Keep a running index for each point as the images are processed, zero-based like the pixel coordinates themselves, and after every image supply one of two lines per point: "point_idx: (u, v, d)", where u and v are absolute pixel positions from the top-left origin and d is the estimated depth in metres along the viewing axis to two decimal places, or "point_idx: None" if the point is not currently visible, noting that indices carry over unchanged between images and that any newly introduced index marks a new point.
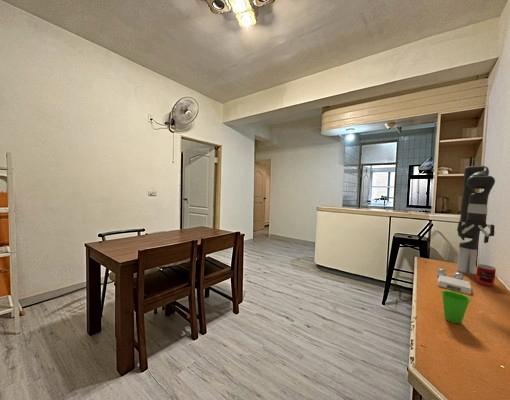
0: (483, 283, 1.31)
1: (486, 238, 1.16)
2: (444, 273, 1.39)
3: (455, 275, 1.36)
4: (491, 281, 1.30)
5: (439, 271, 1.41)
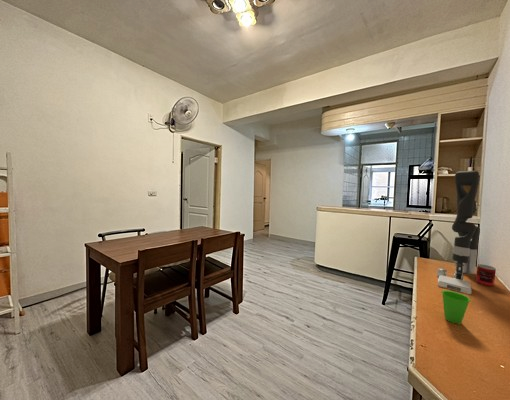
0: (483, 283, 1.31)
1: None
2: (444, 273, 1.39)
3: (455, 275, 1.36)
4: (491, 281, 1.30)
5: (439, 271, 1.41)
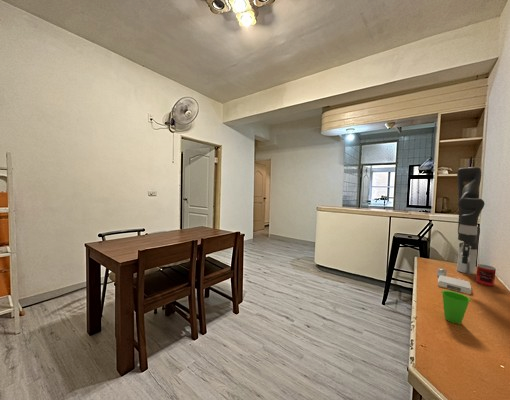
0: (483, 283, 1.31)
1: None
2: (444, 273, 1.39)
3: (461, 256, 1.24)
4: (491, 281, 1.30)
5: (439, 271, 1.41)
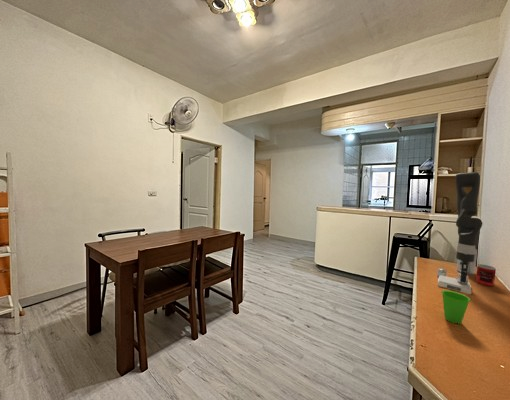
0: (483, 283, 1.31)
1: None
2: (444, 273, 1.39)
3: (459, 277, 1.25)
4: (491, 281, 1.30)
5: (439, 271, 1.41)
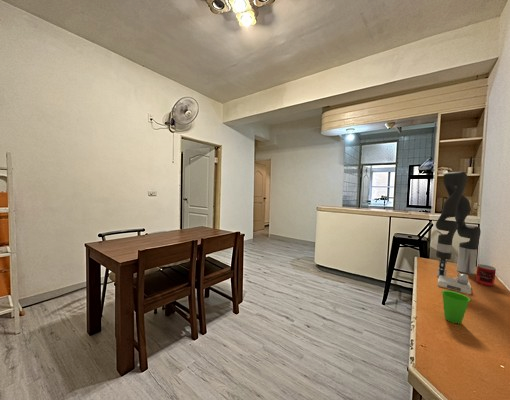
0: (483, 283, 1.31)
1: None
2: (444, 273, 1.39)
3: (459, 277, 1.25)
4: (491, 281, 1.30)
5: None
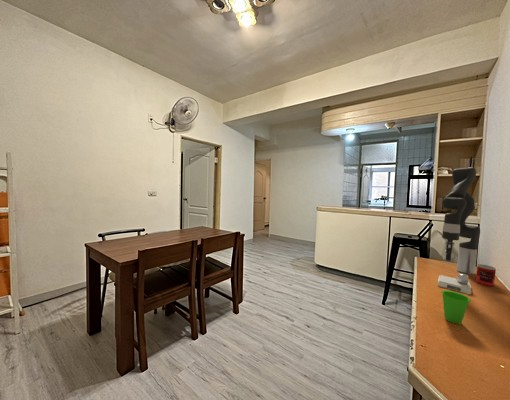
0: (483, 283, 1.31)
1: None
2: (451, 255, 1.27)
3: (459, 277, 1.25)
4: (491, 281, 1.30)
5: (445, 253, 1.29)
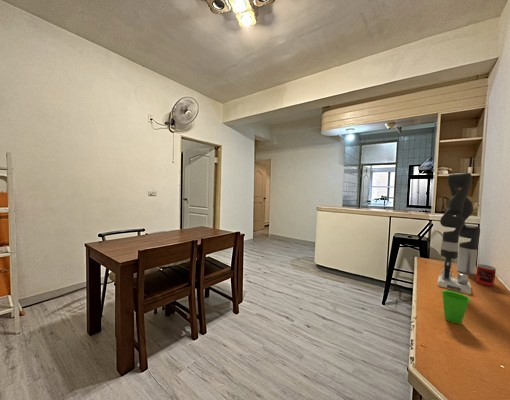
0: (483, 283, 1.31)
1: None
2: (449, 275, 1.28)
3: (459, 277, 1.25)
4: (491, 281, 1.30)
5: None
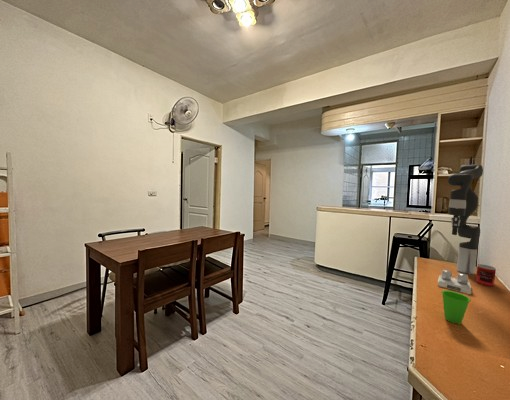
0: (483, 283, 1.31)
1: None
2: (449, 275, 1.28)
3: (459, 276, 1.25)
4: (491, 281, 1.30)
5: (444, 273, 1.29)
